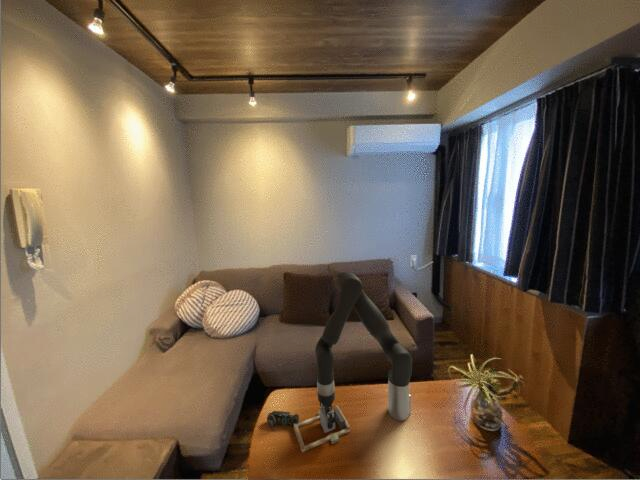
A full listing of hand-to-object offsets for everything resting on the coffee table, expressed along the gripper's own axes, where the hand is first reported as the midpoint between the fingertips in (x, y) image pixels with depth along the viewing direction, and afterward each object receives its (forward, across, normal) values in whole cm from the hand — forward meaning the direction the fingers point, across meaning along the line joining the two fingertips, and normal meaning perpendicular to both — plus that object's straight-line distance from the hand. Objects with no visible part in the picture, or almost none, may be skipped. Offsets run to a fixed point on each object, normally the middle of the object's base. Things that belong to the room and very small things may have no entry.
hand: (327, 422), depth 112 cm
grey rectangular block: (+2, 0, 0) cm, 2 cm away
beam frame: (+2, 0, +3) cm, 4 cm away
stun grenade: (+2, +9, +18) cm, 21 cm away
